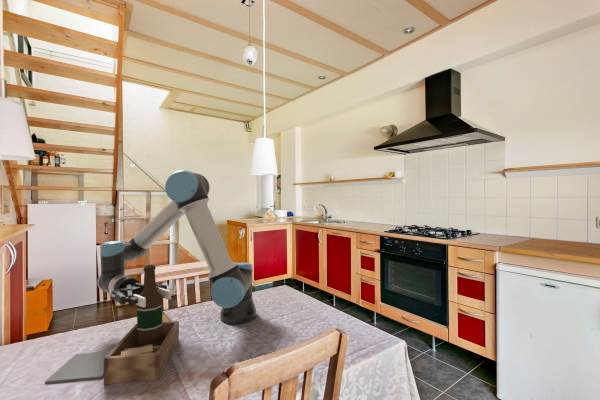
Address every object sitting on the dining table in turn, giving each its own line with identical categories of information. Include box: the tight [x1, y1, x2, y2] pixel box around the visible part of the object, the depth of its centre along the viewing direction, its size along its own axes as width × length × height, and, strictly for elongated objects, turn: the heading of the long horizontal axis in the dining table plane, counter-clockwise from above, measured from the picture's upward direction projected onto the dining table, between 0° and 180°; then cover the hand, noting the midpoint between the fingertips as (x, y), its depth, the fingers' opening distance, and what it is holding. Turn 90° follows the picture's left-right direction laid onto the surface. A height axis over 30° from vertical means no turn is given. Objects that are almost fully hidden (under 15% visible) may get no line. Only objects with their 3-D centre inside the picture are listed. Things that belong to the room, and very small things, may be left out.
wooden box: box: [103, 320, 180, 385], centre depth 89 cm, size 14×22×7 cm, turn 10°
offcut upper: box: [121, 344, 153, 355], centre depth 83 cm, size 8×4×3 cm, turn 121°
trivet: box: [44, 350, 112, 384], centre depth 86 cm, size 14×14×1 cm
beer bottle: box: [136, 264, 163, 345], centre depth 93 cm, size 8×8×24 cm
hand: (157, 298), depth 90 cm, fingers closed on beer bottle, 7 cm apart
